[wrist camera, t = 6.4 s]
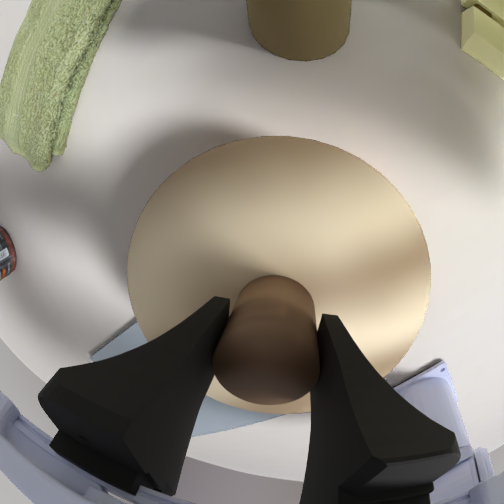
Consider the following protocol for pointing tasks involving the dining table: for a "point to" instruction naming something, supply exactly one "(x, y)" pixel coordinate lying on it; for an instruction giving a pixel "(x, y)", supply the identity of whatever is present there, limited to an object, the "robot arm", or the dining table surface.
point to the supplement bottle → (6, 255)
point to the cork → (300, 26)
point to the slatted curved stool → (484, 33)
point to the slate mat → (211, 411)
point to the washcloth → (49, 74)
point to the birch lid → (280, 263)
